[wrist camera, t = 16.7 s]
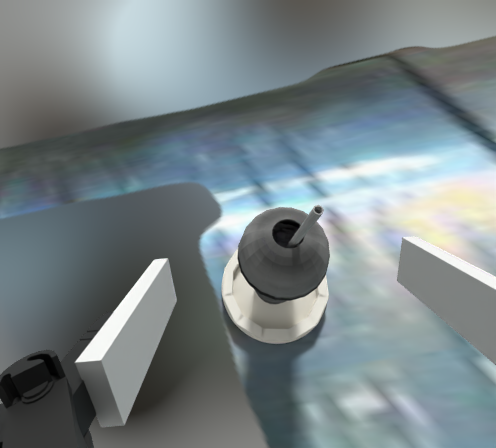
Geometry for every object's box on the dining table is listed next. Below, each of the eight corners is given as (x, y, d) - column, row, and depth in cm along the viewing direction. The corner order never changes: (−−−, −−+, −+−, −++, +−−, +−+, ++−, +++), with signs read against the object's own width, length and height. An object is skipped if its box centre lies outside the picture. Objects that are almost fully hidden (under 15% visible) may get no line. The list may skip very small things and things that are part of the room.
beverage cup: (274, 246, 32) (296, 119, 14) (315, 287, 29) (410, 197, 11) (232, 283, 30) (194, 190, 12) (272, 331, 27) (304, 305, 9)
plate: (348, 307, 29) (354, 304, 27) (254, 367, 26) (254, 369, 24) (288, 223, 34) (290, 217, 32) (206, 267, 31) (203, 262, 30)
